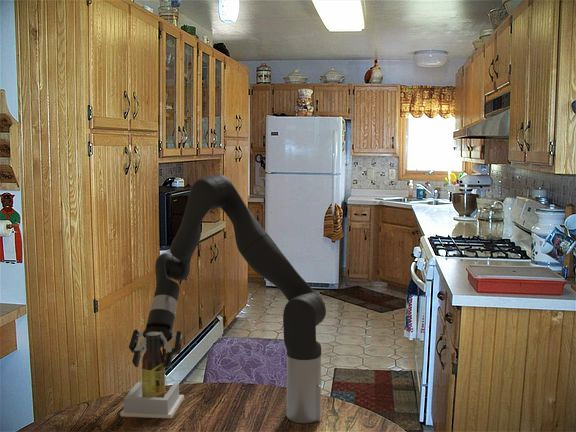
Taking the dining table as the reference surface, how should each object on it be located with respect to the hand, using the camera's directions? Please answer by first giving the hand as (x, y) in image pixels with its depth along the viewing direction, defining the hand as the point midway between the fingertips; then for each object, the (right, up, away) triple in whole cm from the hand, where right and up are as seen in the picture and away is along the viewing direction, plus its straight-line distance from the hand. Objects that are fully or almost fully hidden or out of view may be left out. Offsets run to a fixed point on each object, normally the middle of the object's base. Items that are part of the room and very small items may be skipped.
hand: (150, 366), depth 160 cm
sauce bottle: (0, -11, +3) cm, 11 cm away
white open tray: (0, -12, +3) cm, 12 cm away
